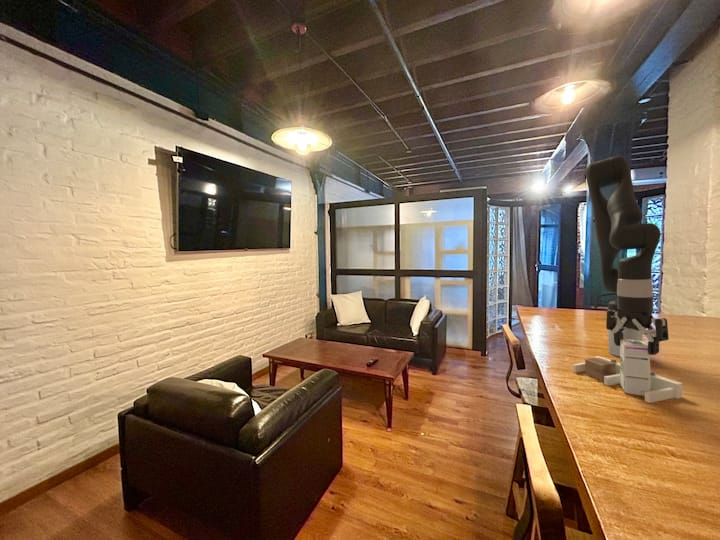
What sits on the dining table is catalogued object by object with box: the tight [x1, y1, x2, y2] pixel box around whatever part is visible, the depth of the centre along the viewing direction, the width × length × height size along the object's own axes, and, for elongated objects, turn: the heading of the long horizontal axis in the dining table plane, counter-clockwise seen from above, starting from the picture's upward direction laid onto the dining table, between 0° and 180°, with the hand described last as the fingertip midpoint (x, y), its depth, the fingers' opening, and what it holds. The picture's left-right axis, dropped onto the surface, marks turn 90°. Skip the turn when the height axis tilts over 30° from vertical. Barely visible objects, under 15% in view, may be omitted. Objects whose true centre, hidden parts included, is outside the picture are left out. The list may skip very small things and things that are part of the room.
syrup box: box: [619, 339, 652, 397], centre depth 85 cm, size 6×6×14 cm
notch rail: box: [572, 355, 683, 404], centre depth 91 cm, size 11×23×5 cm, turn 12°
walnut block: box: [584, 357, 616, 382], centre depth 96 cm, size 6×6×5 cm
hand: (635, 349), depth 85 cm, fingers open, 8 cm apart
